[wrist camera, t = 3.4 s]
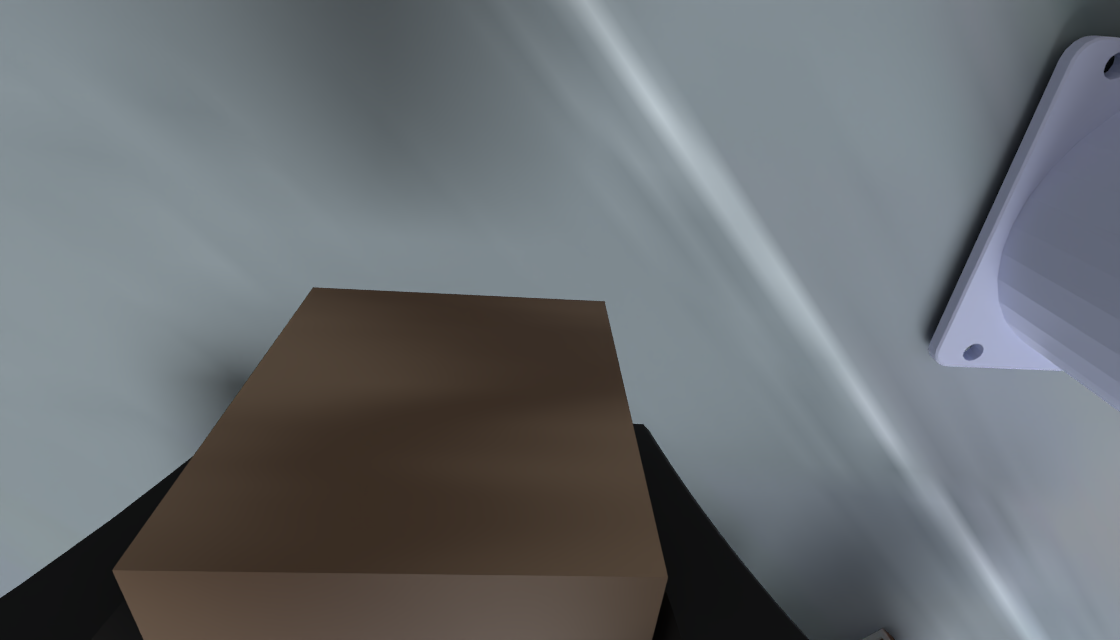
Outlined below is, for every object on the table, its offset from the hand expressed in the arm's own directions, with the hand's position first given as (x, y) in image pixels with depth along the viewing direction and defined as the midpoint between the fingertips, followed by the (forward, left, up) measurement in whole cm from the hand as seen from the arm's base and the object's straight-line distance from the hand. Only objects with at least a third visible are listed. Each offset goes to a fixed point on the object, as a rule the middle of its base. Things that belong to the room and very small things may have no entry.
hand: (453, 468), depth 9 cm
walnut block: (0, 0, -2) cm, 2 cm away
